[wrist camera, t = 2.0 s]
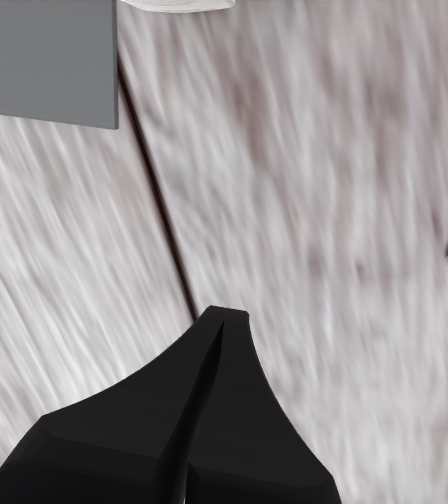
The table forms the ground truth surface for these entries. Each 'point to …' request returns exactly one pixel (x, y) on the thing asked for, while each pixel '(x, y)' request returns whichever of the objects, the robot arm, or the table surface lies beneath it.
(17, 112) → the mat
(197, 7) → the ink box
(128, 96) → the table surface
